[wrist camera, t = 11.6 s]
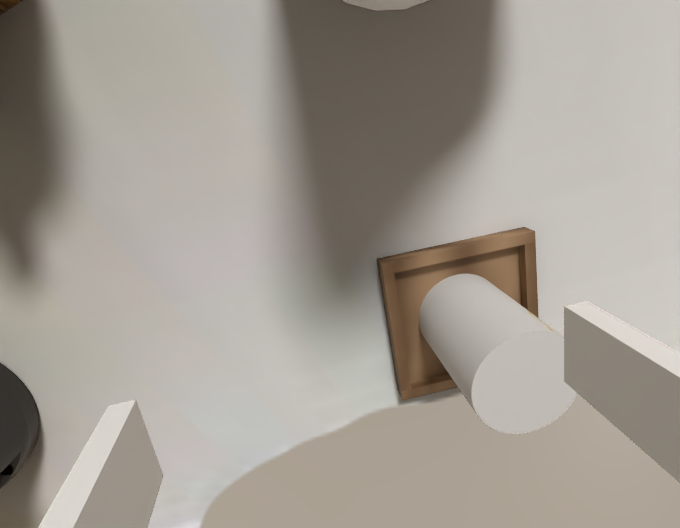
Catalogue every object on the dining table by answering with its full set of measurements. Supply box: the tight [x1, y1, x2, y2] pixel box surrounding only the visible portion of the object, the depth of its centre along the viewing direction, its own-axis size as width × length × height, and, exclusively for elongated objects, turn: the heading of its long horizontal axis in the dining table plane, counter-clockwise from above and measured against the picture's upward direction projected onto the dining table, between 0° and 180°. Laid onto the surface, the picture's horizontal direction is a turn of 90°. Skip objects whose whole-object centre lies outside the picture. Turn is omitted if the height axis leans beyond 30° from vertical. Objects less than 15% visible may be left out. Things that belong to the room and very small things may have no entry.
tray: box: [377, 227, 538, 400], centre depth 42 cm, size 14×14×2 cm
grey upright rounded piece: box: [419, 274, 578, 434], centre depth 36 cm, size 8×8×12 cm
